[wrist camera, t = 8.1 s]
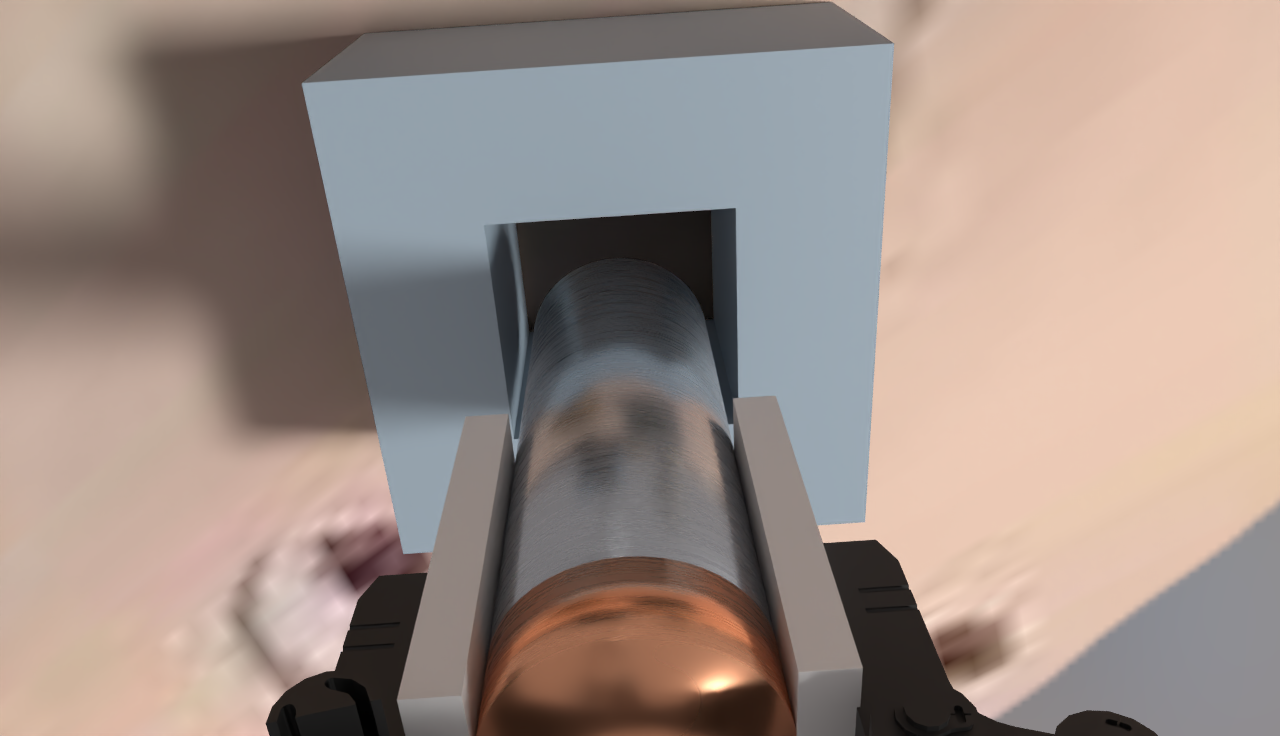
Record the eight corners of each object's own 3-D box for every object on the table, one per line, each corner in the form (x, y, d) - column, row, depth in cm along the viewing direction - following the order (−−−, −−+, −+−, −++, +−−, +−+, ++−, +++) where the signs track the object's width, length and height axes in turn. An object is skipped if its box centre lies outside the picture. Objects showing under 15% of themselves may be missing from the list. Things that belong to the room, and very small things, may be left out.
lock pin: (524, 264, 22) (451, 652, 11) (704, 251, 22) (802, 627, 11) (543, 418, 24) (495, 878, 13) (708, 407, 24) (796, 856, 13)
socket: (364, 33, 25) (301, 83, 20) (832, 2, 25) (893, 43, 20) (437, 432, 31) (403, 553, 25) (819, 405, 31) (864, 521, 26)
